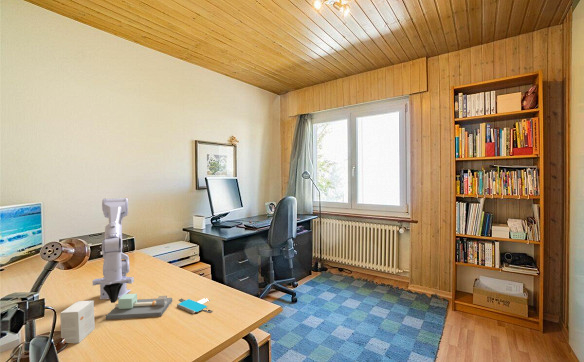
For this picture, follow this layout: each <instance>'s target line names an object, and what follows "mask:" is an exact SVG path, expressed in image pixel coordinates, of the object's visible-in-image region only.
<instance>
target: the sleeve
mask: <svg viewBox="0 0 584 362" xmlns="http://www.w3.org/2000/svg"><path fill="white" fill-rule="evenodd" d="M137 300H138V293H127V294H124V295H123V296H122V297H120V298H118V299H117V301H118V303H117V304H118V306H119V309H130V308H133V303H137Z"/></svg>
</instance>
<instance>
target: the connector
mask: <svg viewBox="0 0 584 362" xmlns="http://www.w3.org/2000/svg"><path fill="white" fill-rule="evenodd" d="M167 298H168V295H159V296H158V297H157V298H155V299H156V305H157V307H164V306H165V302H166V304H167Z"/></svg>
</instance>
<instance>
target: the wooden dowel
mask: <svg viewBox="0 0 584 362" xmlns="http://www.w3.org/2000/svg"><path fill="white" fill-rule="evenodd" d="M114 305H115V307H114V308H119V306H118V303H116V304H114ZM155 305H156V301H153V302H141V303H133V307H137V306H155ZM165 305H166V302H165Z"/></svg>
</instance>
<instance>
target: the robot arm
mask: <svg viewBox="0 0 584 362" xmlns="http://www.w3.org/2000/svg"><path fill="white" fill-rule="evenodd" d="M101 208H102V212H103V213H102V214H103V216H104V217H105V218H107V219H108V224H106V226H105V227H104V236H103V237H104V239H103V240H102V242H101V252H102V258H103V266H102V276H103V277H101V278H95V279H92V280H91V281H92V282H91V283H92V286H98V285H99V288H100V290H99V291H100V293H99V294H100V297H99V300H109V301H110V303H111V304H113V303H116V302H117V301H118V299H119V298H120V297H122V296H123V295H124V294H129V293H130V292H131V290H132V289H128V288H127V286H128V285H127V284H129V285H132V284H133V283H134V282H135V280H134V279H135V277H133V276H127V274H128V273H129V272H130V269H131V268H130V257H129V255H128V254H126V253H124V252H123V220H124V218H125V217H127V216H128V214H129V198H127V197H119V198H118V197H117V198H116V197H115V198H103V199H102V201H101Z"/></svg>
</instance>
